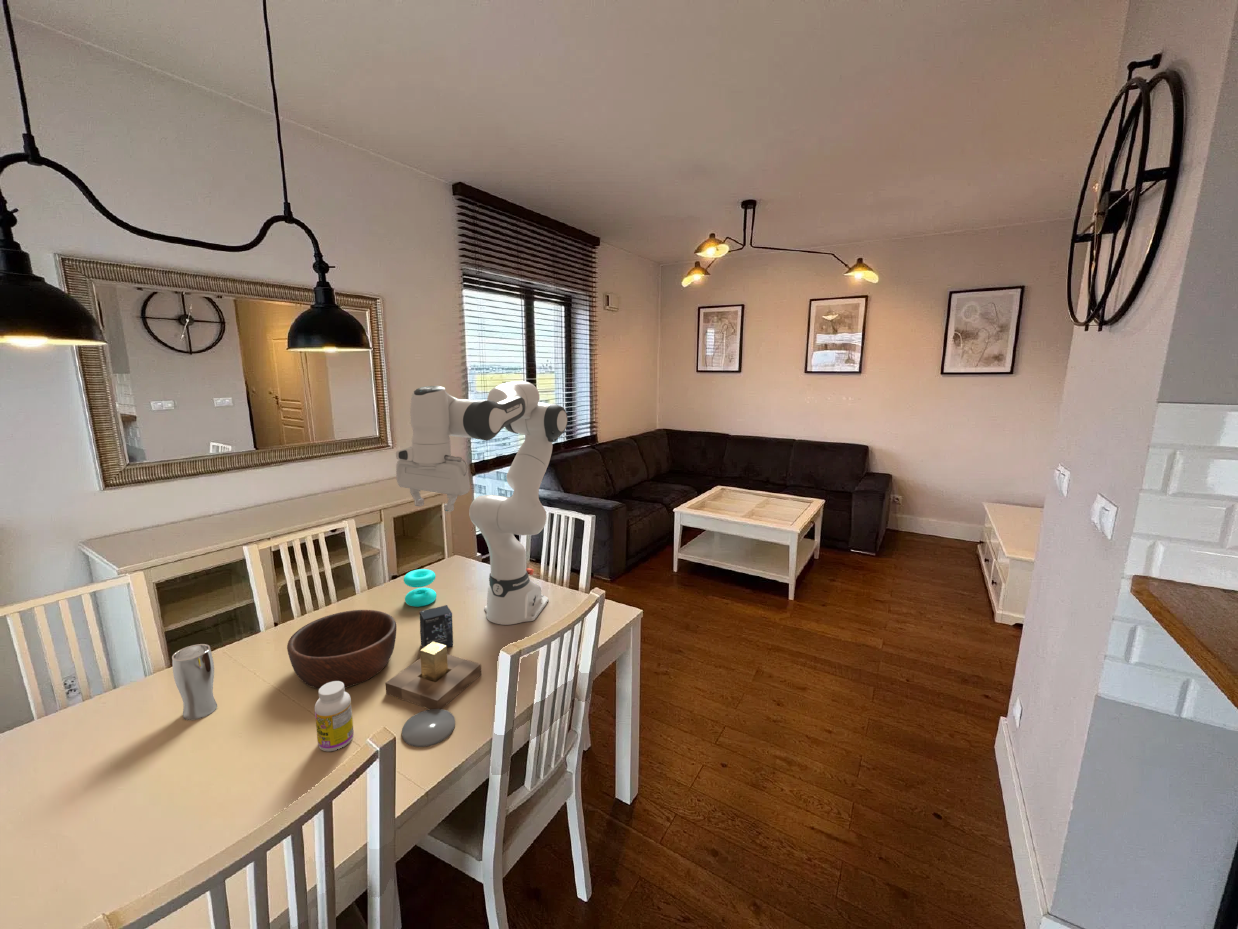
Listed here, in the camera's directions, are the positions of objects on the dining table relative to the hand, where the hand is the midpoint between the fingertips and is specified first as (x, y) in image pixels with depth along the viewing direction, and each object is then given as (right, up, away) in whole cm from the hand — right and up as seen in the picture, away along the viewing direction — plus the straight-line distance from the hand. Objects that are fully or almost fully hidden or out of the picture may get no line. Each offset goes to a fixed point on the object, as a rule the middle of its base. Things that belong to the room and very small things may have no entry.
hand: (434, 508), depth 126 cm
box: (-6, -41, +19) cm, 46 cm away
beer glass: (-50, -46, -10) cm, 68 cm away
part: (0, -45, +2) cm, 45 cm away
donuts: (-21, -36, +45) cm, 61 cm away
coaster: (+4, -48, -14) cm, 50 cm away
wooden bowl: (-26, -43, +8) cm, 51 cm away
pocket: (0, -45, +2) cm, 45 cm away
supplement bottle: (-14, -48, -18) cm, 54 cm away
